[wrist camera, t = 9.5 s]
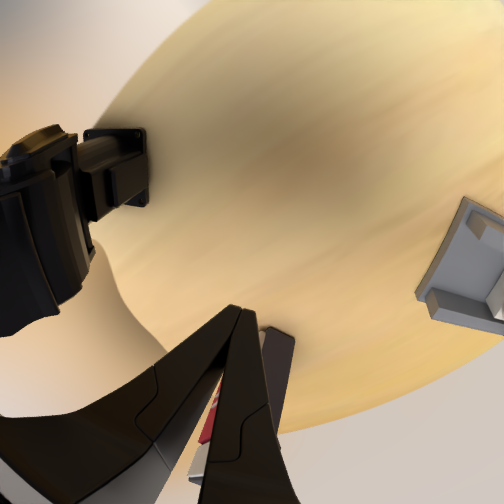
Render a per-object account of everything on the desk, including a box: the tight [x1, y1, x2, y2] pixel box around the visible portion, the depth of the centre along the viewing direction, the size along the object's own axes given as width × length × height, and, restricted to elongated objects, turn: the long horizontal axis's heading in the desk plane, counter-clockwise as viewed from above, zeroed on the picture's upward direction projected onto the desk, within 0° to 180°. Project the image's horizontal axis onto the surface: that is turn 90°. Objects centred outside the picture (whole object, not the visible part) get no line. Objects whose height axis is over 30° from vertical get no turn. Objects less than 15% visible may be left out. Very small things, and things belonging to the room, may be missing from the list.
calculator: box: [187, 327, 295, 485], centre depth 23 cm, size 11×4×15 cm, turn 154°
